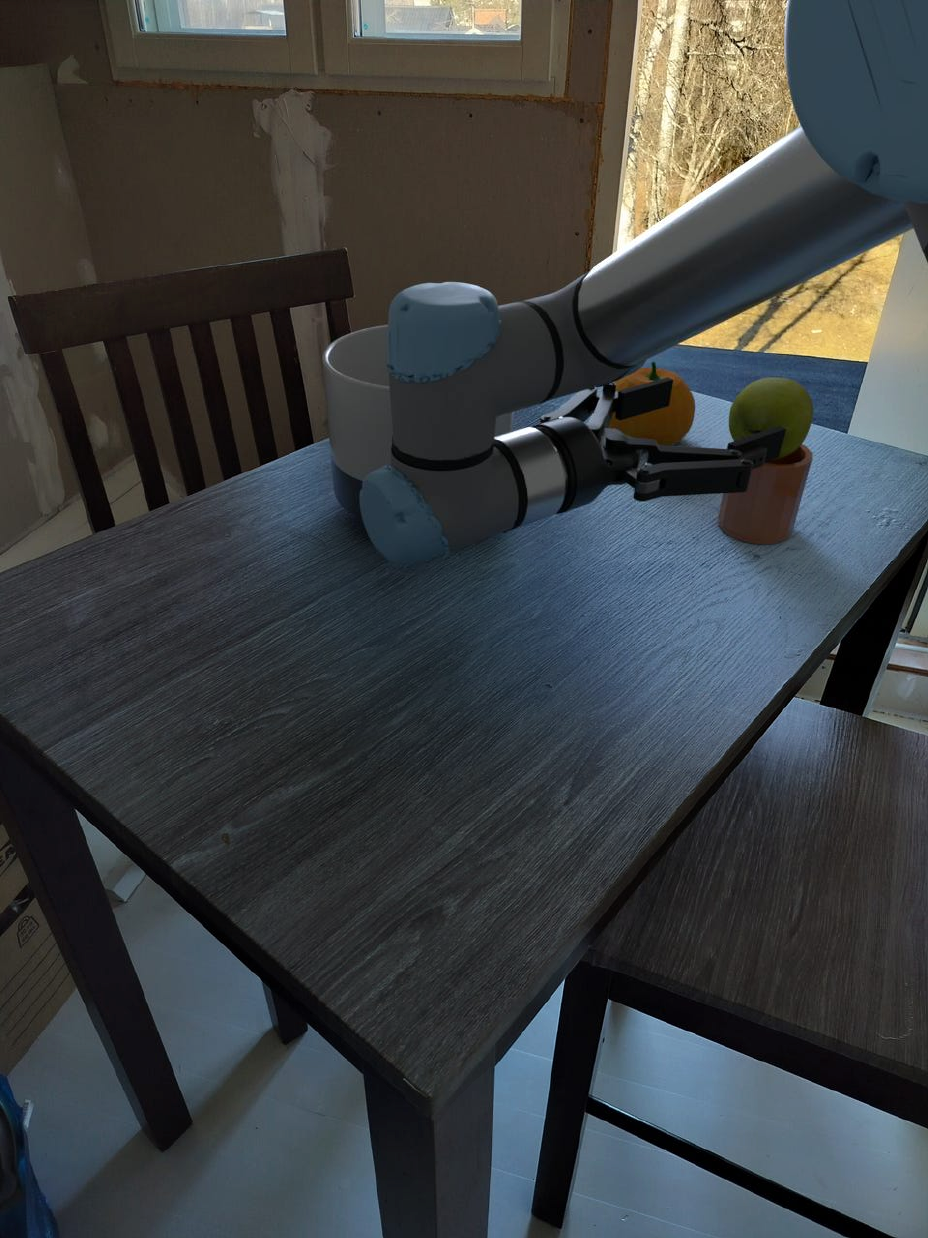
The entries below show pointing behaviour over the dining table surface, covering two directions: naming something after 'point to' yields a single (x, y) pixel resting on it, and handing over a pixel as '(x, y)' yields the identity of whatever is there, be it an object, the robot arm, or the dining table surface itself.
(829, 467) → the dining table surface
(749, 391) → the apple
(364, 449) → the planter
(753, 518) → the cup
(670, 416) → the fruit
